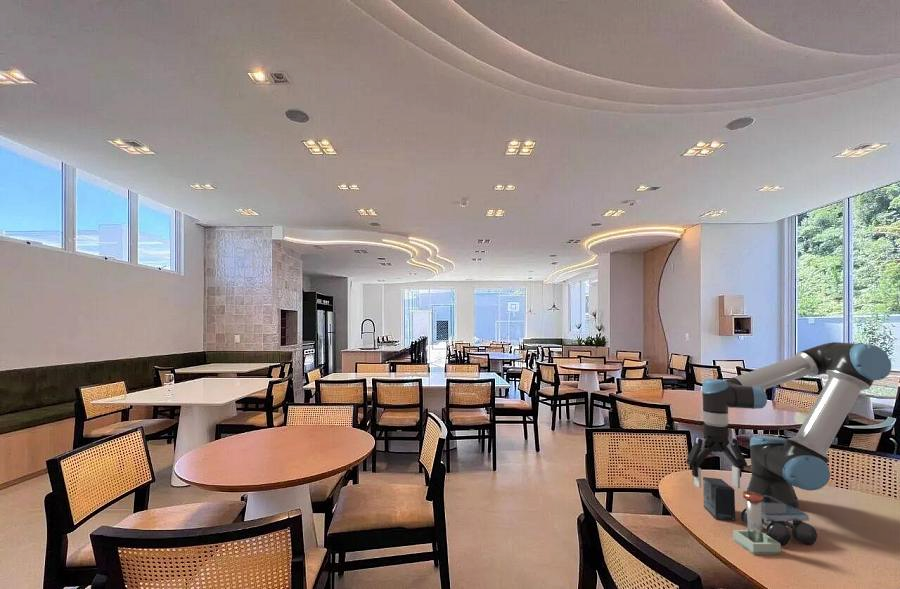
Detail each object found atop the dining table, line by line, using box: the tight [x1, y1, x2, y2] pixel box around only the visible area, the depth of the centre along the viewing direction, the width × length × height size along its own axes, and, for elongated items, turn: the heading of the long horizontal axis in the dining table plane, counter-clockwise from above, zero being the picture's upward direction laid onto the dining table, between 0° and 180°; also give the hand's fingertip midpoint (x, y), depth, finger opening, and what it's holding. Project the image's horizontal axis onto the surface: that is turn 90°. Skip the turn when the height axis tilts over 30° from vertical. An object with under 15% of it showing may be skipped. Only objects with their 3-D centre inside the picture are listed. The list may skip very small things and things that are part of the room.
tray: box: [732, 529, 782, 556], centre depth 121 cm, size 8×8×3 cm
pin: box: [742, 490, 764, 543], centre depth 121 cm, size 5×5×14 cm
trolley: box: [740, 495, 818, 547], centre depth 128 cm, size 14×12×11 cm
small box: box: [702, 476, 736, 522], centre depth 143 cm, size 11×6×10 cm, turn 168°
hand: (717, 486), depth 143 cm, fingers open, 13 cm apart
